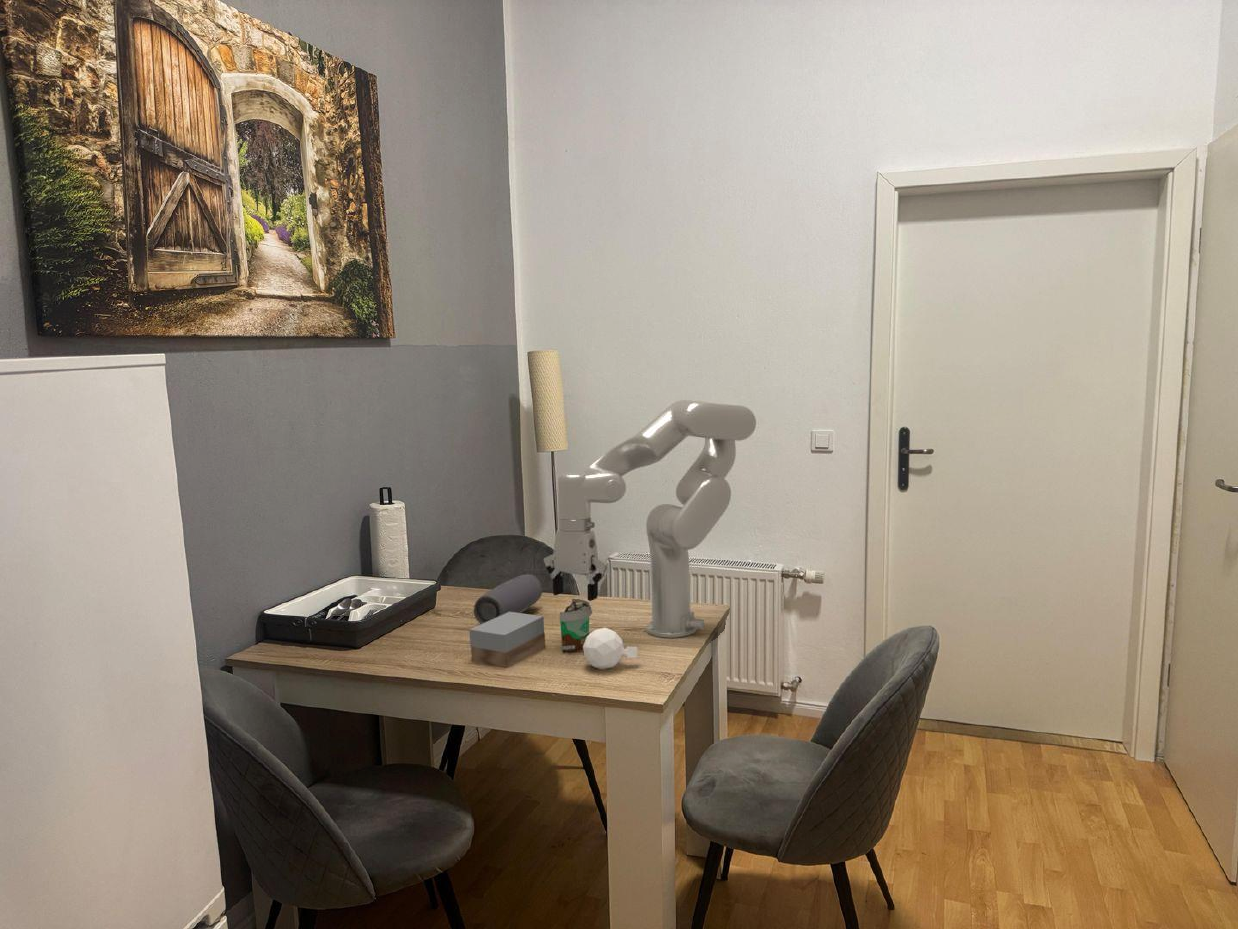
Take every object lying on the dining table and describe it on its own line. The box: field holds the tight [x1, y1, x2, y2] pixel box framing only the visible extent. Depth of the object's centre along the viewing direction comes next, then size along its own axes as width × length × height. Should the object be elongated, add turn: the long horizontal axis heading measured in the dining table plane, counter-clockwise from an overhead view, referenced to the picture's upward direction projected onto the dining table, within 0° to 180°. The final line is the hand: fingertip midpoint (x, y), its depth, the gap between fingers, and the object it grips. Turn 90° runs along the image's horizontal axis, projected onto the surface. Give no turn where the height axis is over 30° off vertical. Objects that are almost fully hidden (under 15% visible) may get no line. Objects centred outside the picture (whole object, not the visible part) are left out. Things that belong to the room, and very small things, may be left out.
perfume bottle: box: [582, 627, 639, 671], centre depth 189 cm, size 9×9×12 cm
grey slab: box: [469, 612, 545, 653], centre depth 199 cm, size 10×15×4 cm, turn 150°
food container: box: [559, 598, 593, 654], centre depth 203 cm, size 12×6×10 cm, turn 168°
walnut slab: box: [470, 632, 546, 669], centre depth 200 cm, size 10×15×4 cm, turn 150°
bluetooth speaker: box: [473, 573, 543, 625], centre depth 227 cm, size 23×9×10 cm, turn 159°
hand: (575, 596), depth 202 cm, fingers open, 9 cm apart
